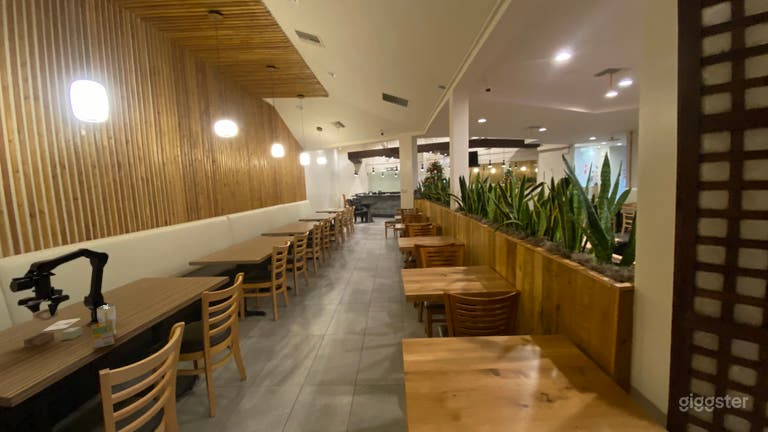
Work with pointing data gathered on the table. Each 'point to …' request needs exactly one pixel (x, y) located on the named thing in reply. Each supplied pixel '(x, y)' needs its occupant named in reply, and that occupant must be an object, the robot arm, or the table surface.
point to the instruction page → (61, 324)
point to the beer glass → (107, 315)
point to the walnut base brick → (39, 339)
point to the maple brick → (43, 315)
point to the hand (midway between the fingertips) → (45, 316)
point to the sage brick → (71, 333)
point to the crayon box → (103, 334)
